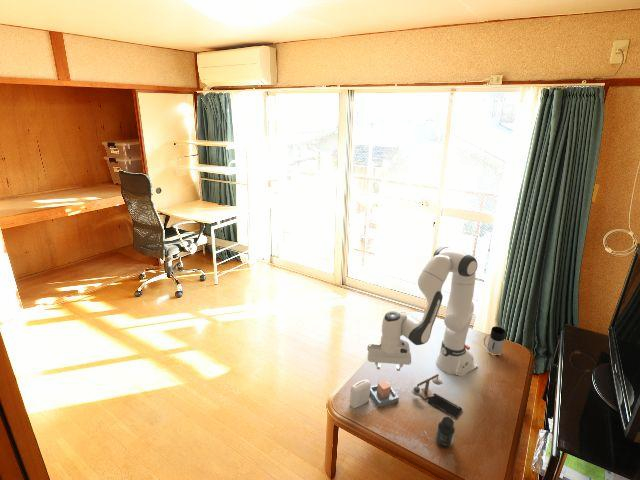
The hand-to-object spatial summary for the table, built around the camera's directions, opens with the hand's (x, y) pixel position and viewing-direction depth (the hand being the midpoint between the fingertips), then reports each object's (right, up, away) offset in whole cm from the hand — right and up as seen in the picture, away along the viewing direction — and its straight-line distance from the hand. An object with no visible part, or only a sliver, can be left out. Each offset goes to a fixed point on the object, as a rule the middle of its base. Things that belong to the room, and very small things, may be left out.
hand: (388, 369), depth 177 cm
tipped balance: (+20, -16, +9) cm, 27 cm away
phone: (+28, -19, +2) cm, 34 cm away
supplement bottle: (+21, -26, -16) cm, 37 cm away
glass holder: (+68, -5, +42) cm, 80 cm away
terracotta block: (-1, -15, +7) cm, 16 cm away
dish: (-1, -16, +7) cm, 17 cm away
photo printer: (-13, -17, +3) cm, 22 cm away
